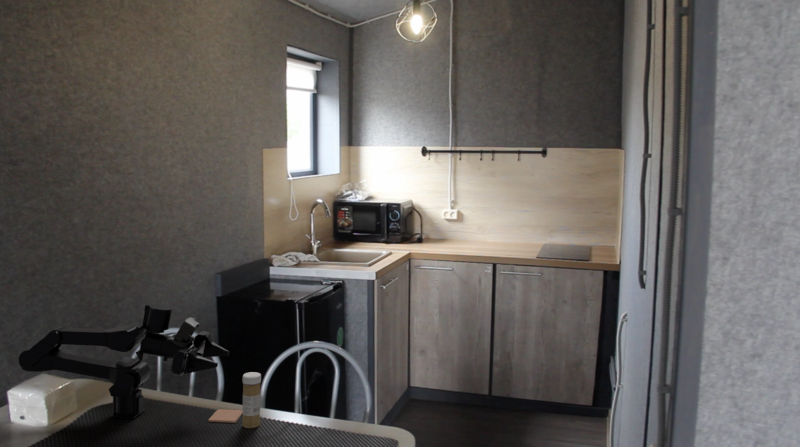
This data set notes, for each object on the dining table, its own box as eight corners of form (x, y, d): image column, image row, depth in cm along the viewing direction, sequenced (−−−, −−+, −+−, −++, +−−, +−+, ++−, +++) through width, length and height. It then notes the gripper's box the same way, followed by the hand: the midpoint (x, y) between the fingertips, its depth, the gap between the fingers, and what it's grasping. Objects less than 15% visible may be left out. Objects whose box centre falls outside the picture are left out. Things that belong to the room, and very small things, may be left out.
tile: (208, 421, 154) (208, 419, 154) (217, 411, 161) (217, 409, 161) (235, 422, 154) (235, 421, 154) (243, 412, 161) (243, 410, 161)
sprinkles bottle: (255, 420, 156) (256, 370, 155) (263, 426, 152) (264, 375, 151) (238, 424, 153) (239, 373, 152) (246, 430, 149) (247, 378, 148)
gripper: (155, 327, 145) (217, 340, 145) (184, 308, 164) (239, 320, 164) (147, 369, 147) (209, 383, 147) (177, 346, 165) (231, 358, 165)
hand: (223, 359), depth 156 cm, fingers open, 9 cm apart
